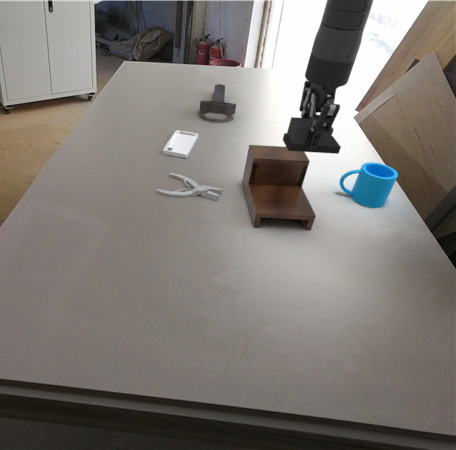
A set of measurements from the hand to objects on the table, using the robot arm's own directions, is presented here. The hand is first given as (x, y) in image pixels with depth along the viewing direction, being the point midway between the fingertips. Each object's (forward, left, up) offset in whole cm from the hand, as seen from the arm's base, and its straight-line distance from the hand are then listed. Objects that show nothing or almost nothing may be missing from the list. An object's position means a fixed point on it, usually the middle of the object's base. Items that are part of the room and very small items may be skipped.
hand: (306, 142), depth 81 cm
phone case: (+23, -36, -20) cm, 47 cm away
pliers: (+21, -11, -20) cm, 31 cm away
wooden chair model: (+1, -6, -20) cm, 21 cm away
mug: (-22, -12, -20) cm, 32 cm away
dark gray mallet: (+9, -69, -20) cm, 72 cm away
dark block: (-1, 0, -1) cm, 1 cm away
